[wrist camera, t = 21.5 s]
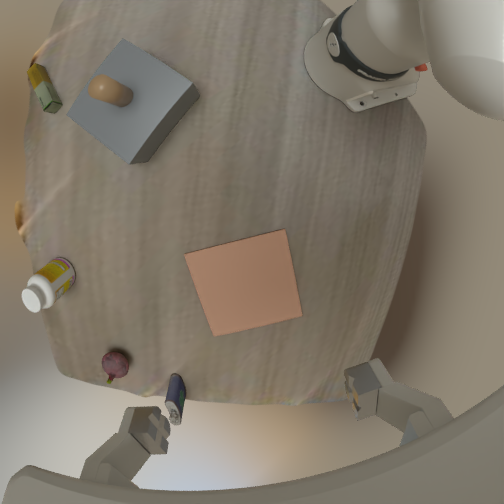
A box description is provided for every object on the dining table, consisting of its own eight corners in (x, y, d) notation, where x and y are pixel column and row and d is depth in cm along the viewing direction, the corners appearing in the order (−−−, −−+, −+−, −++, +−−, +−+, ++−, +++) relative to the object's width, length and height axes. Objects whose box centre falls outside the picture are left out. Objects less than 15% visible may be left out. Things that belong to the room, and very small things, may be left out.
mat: (284, 228, 49) (285, 229, 49) (302, 314, 55) (302, 315, 55) (184, 253, 49) (184, 254, 49) (214, 335, 56) (213, 336, 55)
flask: (169, 372, 59) (162, 407, 49) (182, 373, 59) (176, 408, 49) (176, 398, 62) (170, 431, 52) (188, 398, 62) (183, 432, 52)
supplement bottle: (47, 258, 48) (12, 284, 36) (70, 254, 48) (35, 281, 36) (57, 287, 50) (26, 318, 38) (80, 284, 50) (49, 316, 38)
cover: (200, 95, 41) (182, 66, 25) (147, 161, 44) (104, 168, 28) (140, 55, 37) (101, 18, 21) (92, 119, 40) (35, 110, 24)
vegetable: (136, 364, 58) (125, 394, 48) (113, 364, 57) (100, 393, 48) (127, 343, 55) (113, 373, 46) (104, 344, 55) (88, 372, 46)
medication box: (64, 105, 38) (53, 102, 35) (54, 114, 39) (43, 112, 35) (45, 66, 35) (34, 62, 31) (36, 75, 35) (25, 71, 31)
